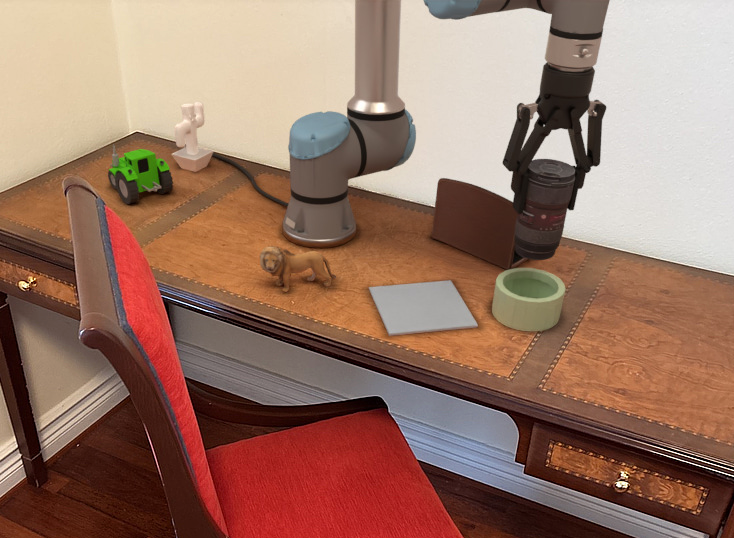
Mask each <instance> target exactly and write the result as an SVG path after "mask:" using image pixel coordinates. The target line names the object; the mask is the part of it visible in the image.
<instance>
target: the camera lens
mask: <svg viewBox="0 0 734 538" xmlns="http://www.w3.org/2000/svg"><path fill="white" fill-rule="evenodd" d="M572 166H573V165H571V164H569V163H567V162H564V161H561V160H557V159H551V158H535V159H532V161H531V163H530V164H529V166H528V168H527V169H526V173H527V174H528V175H529V179H528V184H527V190H526V196H525V202H524V208H523V214H518V217H517V220H516V225H515V237H514V241H515V243H516V247H515V250H516V252H517V253H518V254H519V255H520V256H522V257H524V258H527V259H528V260H531V261H546V260H549V259H552V258H553V257H554V256H555V254H556V250H557V249H558V248H559V246H560V243H561V240H562V237H563V233H564V230H565V229H564V228H565V222H566V218H567V212H568V204H569V202H570V199H571V196H572V191H573V186H574V182H575V169H574V168H573V167H572Z"/></svg>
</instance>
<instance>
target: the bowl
mask: <svg viewBox="0 0 734 538" xmlns="http://www.w3.org/2000/svg"><path fill="white" fill-rule="evenodd" d="M565 284H566V283H564V282H563V280H562V279H561V278H560V277H558V276H557V275H556V274H554V273H551V272H549V271H546V270H544V269H538V268H534V267H515V268H513V269H509V270H506V269H505V270H504V271H502V272H501V273H499V274H498V275H497V276H496V279H495V283H494V290H493V297H492V304H491V314H492V316H493V317H494V319H495V320H496V321H498V322H499V324H502V325H504V327H505V326H506V327H507V328H510V329H513V330H518V331H521V332H543V331H547V330H550V329H551V328H553V327H555V326H556V325H557V324H558V322H559V320H560V318H561V314H562V308H563V304H564V299H565V294H566V291H567V290H566V285H565Z"/></svg>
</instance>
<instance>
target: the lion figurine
mask: <svg viewBox="0 0 734 538" xmlns="http://www.w3.org/2000/svg"><path fill="white" fill-rule="evenodd" d="M259 265H260V267H261V269H262V271H264V272H266V273H269V274H271V276H272V277H276V278H277V277H278V280H277V281H276V282H275V285H276V286H278V287H280V286H283V287H282V288H281V292H283V293H287V292H289V290H290V279H291V276H292V274H300V273H303V272H306V271H307V270H309V269H310V270H311V271H312V275H311V276H308V277H307V278H306V279H307V281H308V282H313V281H314V280H316V278H317V276H319V277H321V278H323V279H325V280H326V281H325V282H324V283H323V286H324V287H325V288H329V287H331V285H332V279H336V278H337V276H336V274H332V270H331V266H330V263H329V260H328V259H327V257H326V256H325V254H323V253H321V252H319V251H316V250H309V251H306V252H301V253H293V252H291V251H289V250H288V249H285V248H282V247H279V246H276V245H275V246H273V245H270V246H269V245H268V246H265V247H263V249H262V250H261V251H260V255H259ZM325 267H326V269H325ZM326 270H327V271H326ZM331 278H332V279H331Z"/></svg>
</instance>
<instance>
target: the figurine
mask: <svg viewBox="0 0 734 538" xmlns="http://www.w3.org/2000/svg"><path fill="white" fill-rule="evenodd" d="M204 108H205V107H204V104H203V103H202V102H200V101H195V102H194V103H189V102H188V103H183V104H180V109H181V113H182V114H181V115H182V121H180V122H178V123H176V124H175V126H174V138H175V139H174V140H175V145H176V147H178V148H179V150H176V151H174V152H172V153H171V154H170V155H171V156H172V158H173V159H174V160H175V162H176V163H177V164H178V165H177V166H179V167H180V169H183V170H186V171H190V172H193V173H197V172H199V171H200V170H203V169H204V168H206V167H208V165H209V163H210V161H211V158H212V157H213V156H212V154H213V153H215V150H213V149H209V148H206V147H205V148H204V147H200V146H199V143H198V134H197V133H198V132H197V130H198V129H199V128H202V127H203V126H204V124H205V112H204V111H205V109H204Z"/></svg>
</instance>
